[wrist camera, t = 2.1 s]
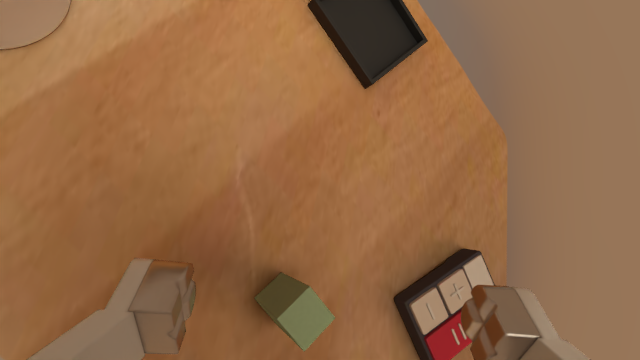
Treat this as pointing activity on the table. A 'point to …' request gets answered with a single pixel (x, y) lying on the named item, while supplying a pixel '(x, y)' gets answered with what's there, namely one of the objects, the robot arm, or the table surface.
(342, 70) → the table surface
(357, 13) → the black tray
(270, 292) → the tall green rectangular block
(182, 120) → the table surface
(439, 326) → the calculator
